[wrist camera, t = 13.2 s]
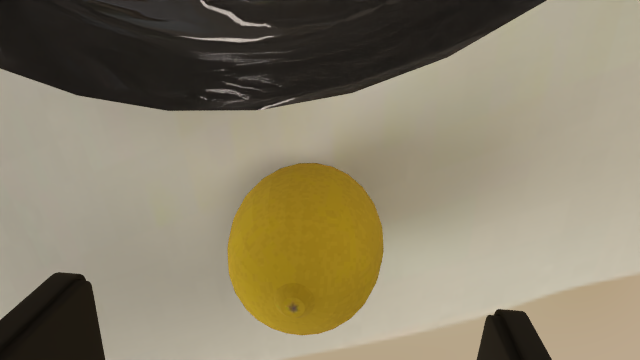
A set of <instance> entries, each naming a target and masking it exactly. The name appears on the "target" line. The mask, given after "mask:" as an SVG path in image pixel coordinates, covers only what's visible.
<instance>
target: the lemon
mask: <svg viewBox="0 0 640 360" xmlns="http://www.w3.org/2000/svg"><path fill="white" fill-rule="evenodd" d="M382 257H383V233H382V225H381V222H380V219H379V216H378V213H377V211H376V208H375V205H374V203H373V202H372V200H371V199H370V197H369V196H368V194H367V193H366V191H365V190H364V189H363V187H362V186H361V185H360V184H358V183H357V182H356V181H355V180H354V179H353V178H351V177H350V176H349V175H348V174H346V173H344V172H342V171H340V170H338V169H336V168H334V167H331V166H326V165H322V164H317V163H299V164H295V165H292V166H288V167H284V168H281V169H279V170H277V171H275V172H274V173H272V174H270V175H268V176H267V177H265V178H263V179H262V180H261V181H260V182H259V183H258V184H257V185H256V186H255V187H254V188H253V189H252V190H251V191H250V192H249V193H248V194H247V196H246V197H245V198H244V200H243V202H242V204H241V206H240V208H239V209H238V211H237V213H236V215H235V217H234V220H233V224H232V228H231V232H230V237H229V242H228V266H229V275H230V279H231V281H232V284H233V287H234V290H235V293H236V294H237V296H238V297H239V299H240V300H241V302H242V303H243V305H244V306H245V308H246V309H247V310H248V311H249V312H250V313H251V314H252V315H253V316H254V317H255V318H256V319H257V320H259V321H260V322H262V323H264V324H265V325H267V326H269V327H271V328H273V329H275V330H278V331H282V332H285V333H289V334H297V335H309V334H319V333H322V332H325V331H328V330H331V329H334V328H336V327H337V326H339V325H341V324H342V323H344V322H346V321H347V320H349V319H350V318H351V317H352V316H353V315H354V314H355V313H356V312H357V311H358V310H359V309H360V308H361V307H362V306H363V305H364V304H365V302H366V300H367V299H368V297H369V295H370V293H371V291H372V289H373V288H374V286H375V284H376V281H377V278H378V275H379V270H380V266H381V262H382Z"/></svg>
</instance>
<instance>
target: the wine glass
mask: <svg viewBox="0 0 640 360" xmlns="http://www.w3.org/2000/svg"><path fill="white" fill-rule="evenodd" d="M544 1H546V0H0V68H1V69H4V70H7V71H9V72H12V73H15V74H18V75H21V76H24V77H27V78H29V79H32V80H35V81H38V82H41V83H44V84H47V85H50V86H52V87H55V88H58V89H61V90H64V91H67V92H70V93H73V94H75V95H79V96H85V97H91V98H97V99H103V100H108V101H114V102H120V103H126V104H132V105H138V106H144V107H150V108H156V109H161V110H167V111H187V110H263V109H268V108H273V107H279V106H284V105H289V104H295V103H300V102H305V101H311V100H316V99H321V98H327V97H332V96H338V95H343V94H348V93H353V92H356V91H358V90H361V89H364V88H366V87H369V86H372V85H374V84H377V83H380V82H382V81H385V80H388V79H390V78H393V77H396V76H398V75H401V74H404V73H406V72H409V71H412V70H415V69H417V68H420V67H423V66H425V65H428V64H431V63H433V62H436V61H439V60H441V59H444V58H447V57H449V56H451V55H452V54H454V53H456V52H457V51H459V50H461V49H463V48H464V47H466V46H468V45H470V44H471V43H473V42H475V41H477V40H478V39H480V38H482V37H484V36H485V35H487V34H489V33H490V32H492V31H494V30H496V29H497V28H499V27H501V26H503V25H504V24H506V23H508V22H510V21H511V20H513V19H515V18H517V17H518V16H520V15H522V14H523V13H525V12H527V11H529V10H530V9H532V8H534V7H536V6H537V5H539V4H541V3H543V2H544Z"/></svg>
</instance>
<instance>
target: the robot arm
mask: <svg viewBox="0 0 640 360" xmlns="http://www.w3.org/2000/svg"><path fill="white" fill-rule="evenodd" d="M0 360H105V356H104V350H103V345H102V339H101V334H100V328H99V323H98V317H97V312H96V306H95V301H94V295H93V290H92V285H91V283H90V282H89V281H86V279H85V277H84V276H83V275H81V274H72V273H60V272H58V273H55V274H53V275H51V276H50V277H49V278H48V279H47V280H46V281H45V282H43V283H42V284H41V285H40V286H39V287H38V288H37V289H35V290H34V291H33V292H32V293H31V294H30V295H29V296H27V297H26V298H25V299H24V300H23V301H22V302H20V303H19V304H18V305H17V306H16V307H15V308H14V309H12V310H11V311H10V312H9V313H8V314H7V315H6V316H4V317H3V318H2V319H1V320H0ZM477 360H552V359H551V357H550V356H549V354H548V352H547V350H546V348H545V347H544V345H543V343H542V341H541V339H540V338H539V336H538V334H537V332H536V330H535V329H534V327H533V325H532V323H531V321H530V319H529V318H528V316H527V315H526V313H525V312H523V311H513V310H501V309H498V310H496V312H495V314H494V315H488V316H487V318H486V321H485V326H484V330H483V335H482V339H481V344H480V348H479V352H478V357H477Z"/></svg>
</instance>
